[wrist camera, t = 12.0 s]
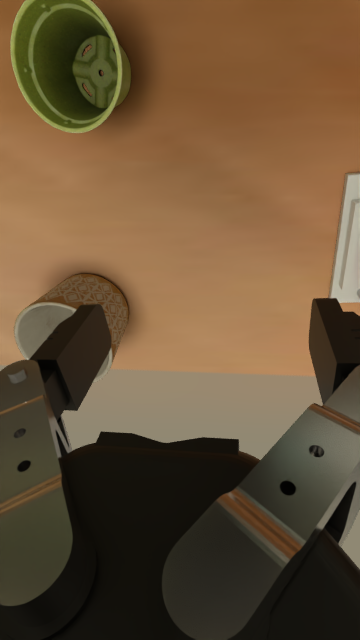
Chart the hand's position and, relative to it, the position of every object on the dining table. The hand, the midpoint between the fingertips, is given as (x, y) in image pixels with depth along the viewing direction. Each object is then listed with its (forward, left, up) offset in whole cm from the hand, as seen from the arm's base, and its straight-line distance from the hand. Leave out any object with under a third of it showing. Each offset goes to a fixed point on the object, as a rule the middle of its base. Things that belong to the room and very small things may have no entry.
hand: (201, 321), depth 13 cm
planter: (+16, -21, -30) cm, 40 cm away
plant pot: (-11, -13, -30) cm, 34 cm away
